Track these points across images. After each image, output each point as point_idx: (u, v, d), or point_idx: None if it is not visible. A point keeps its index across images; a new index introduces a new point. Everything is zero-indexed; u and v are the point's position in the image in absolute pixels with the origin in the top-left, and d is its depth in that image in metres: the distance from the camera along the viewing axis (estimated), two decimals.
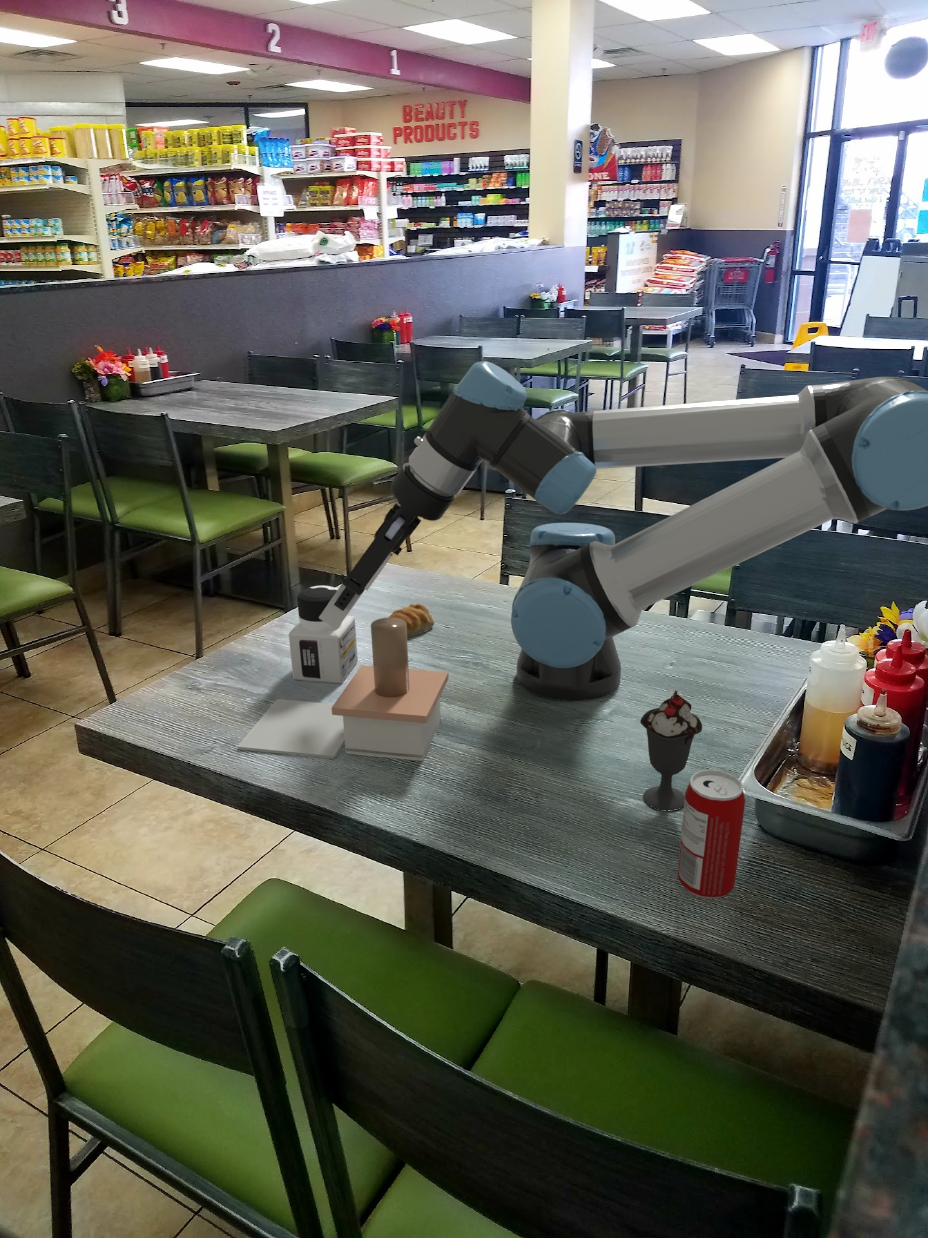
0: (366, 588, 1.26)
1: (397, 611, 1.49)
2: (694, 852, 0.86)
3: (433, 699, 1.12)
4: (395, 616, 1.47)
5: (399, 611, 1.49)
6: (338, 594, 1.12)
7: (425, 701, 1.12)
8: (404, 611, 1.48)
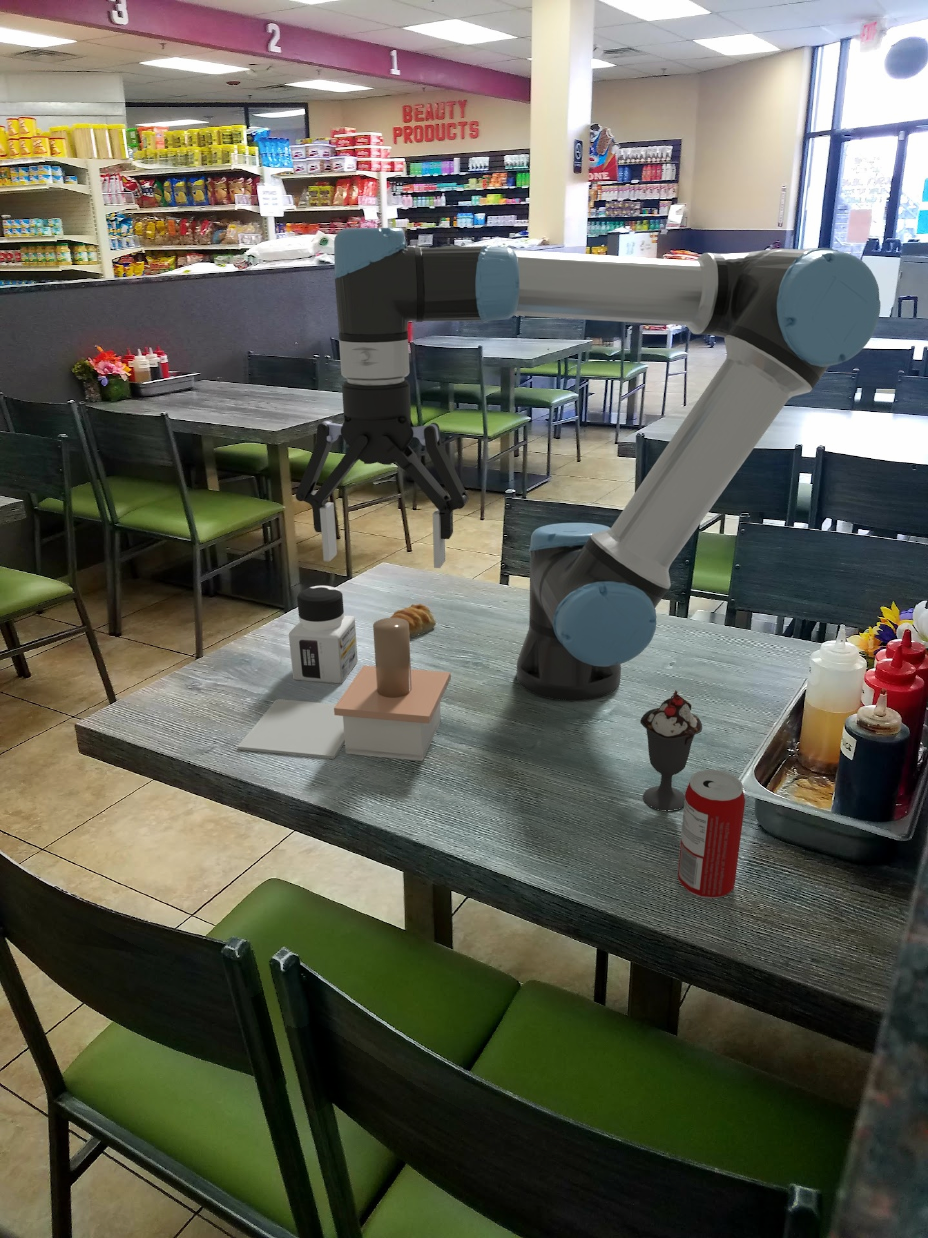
0: (336, 552, 1.10)
1: (399, 611, 1.49)
2: (694, 852, 0.86)
3: (435, 699, 1.12)
4: (397, 616, 1.47)
5: (401, 611, 1.49)
6: (440, 530, 1.04)
7: (427, 701, 1.12)
8: (405, 611, 1.48)
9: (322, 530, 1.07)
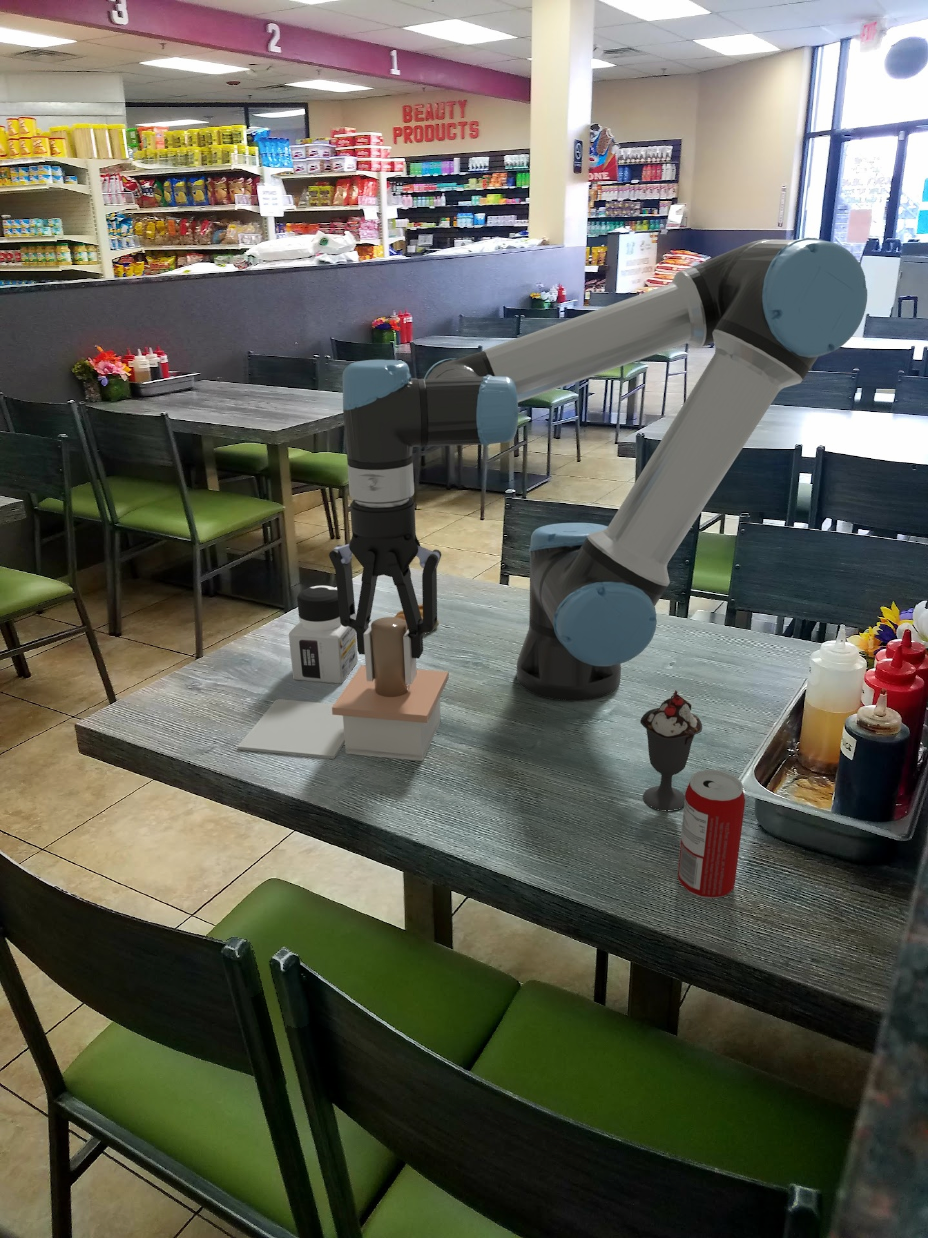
0: None
1: (401, 612, 1.49)
2: (694, 852, 0.86)
3: (433, 699, 1.12)
4: (400, 617, 1.47)
5: (403, 612, 1.48)
6: (410, 651, 1.11)
7: (425, 701, 1.12)
8: None
9: (365, 653, 1.12)
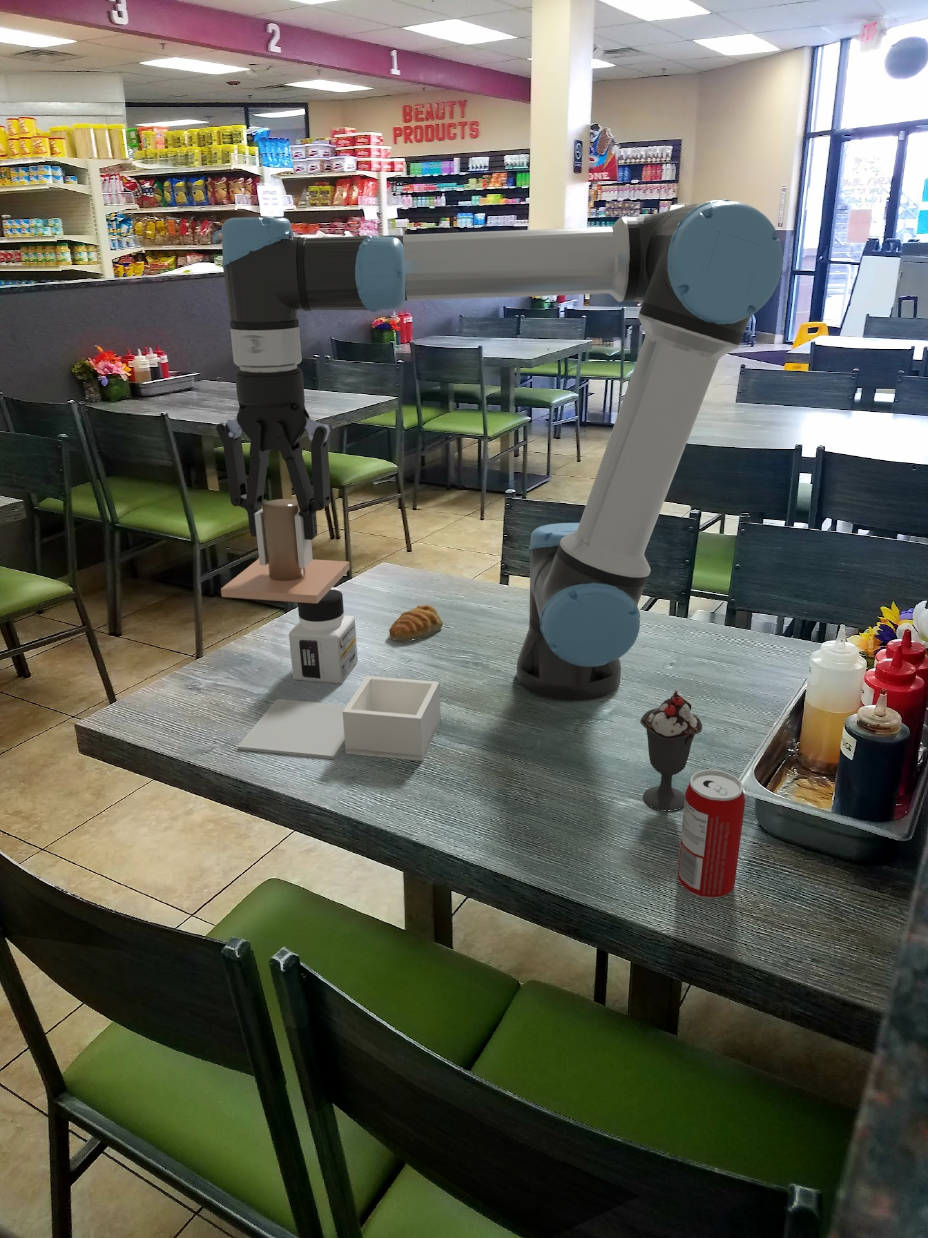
0: None
1: (406, 613, 1.48)
2: (694, 852, 0.86)
3: (327, 582, 1.09)
4: (405, 618, 1.47)
5: (408, 613, 1.48)
6: (303, 531, 1.08)
7: (318, 584, 1.08)
8: (413, 613, 1.48)
9: (257, 535, 1.09)
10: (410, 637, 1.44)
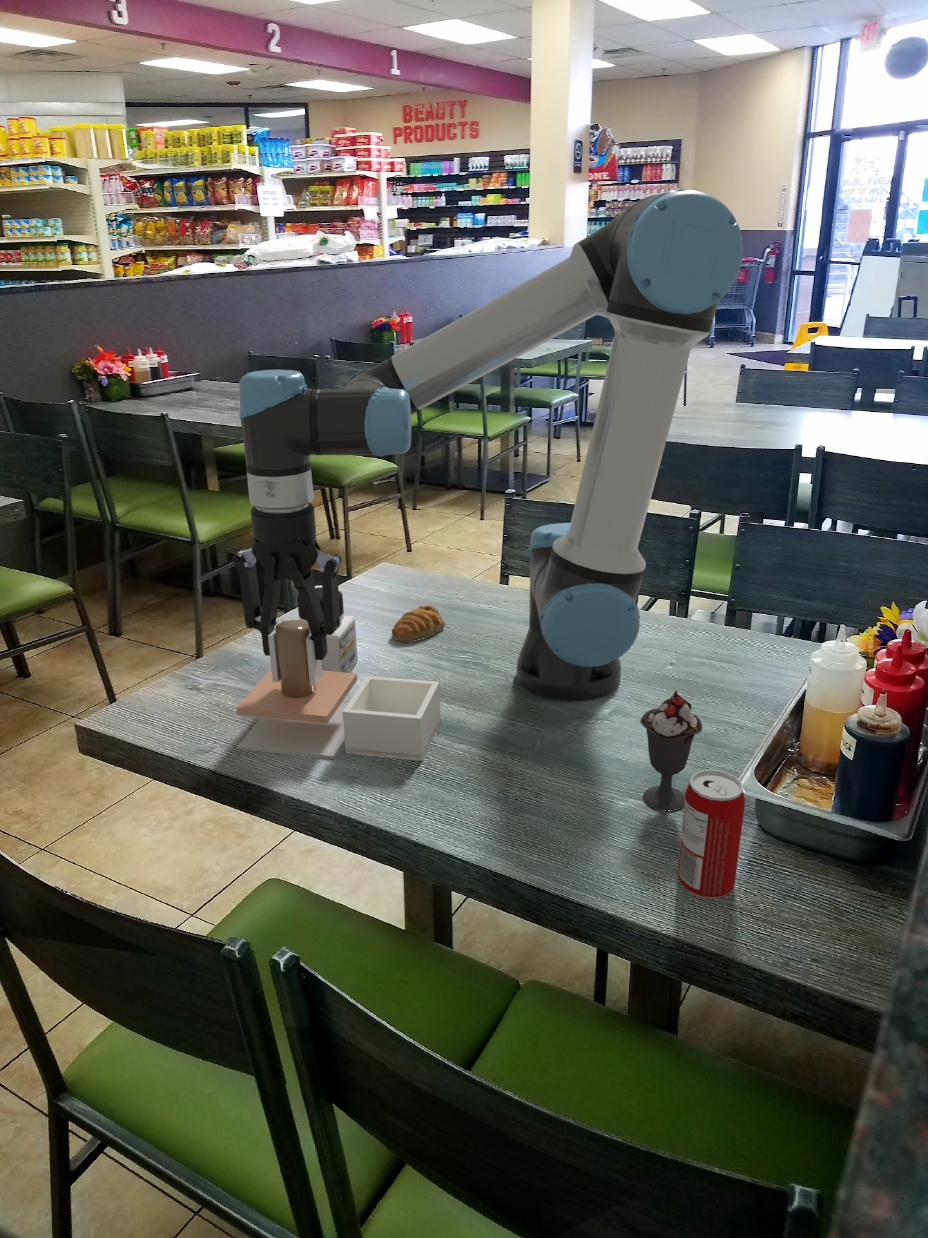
0: None
1: (408, 613, 1.48)
2: (694, 852, 0.86)
3: (336, 700, 1.15)
4: (407, 618, 1.46)
5: (410, 613, 1.48)
6: (314, 653, 1.14)
7: (328, 702, 1.15)
8: (415, 613, 1.47)
9: (270, 655, 1.15)
10: (413, 637, 1.44)
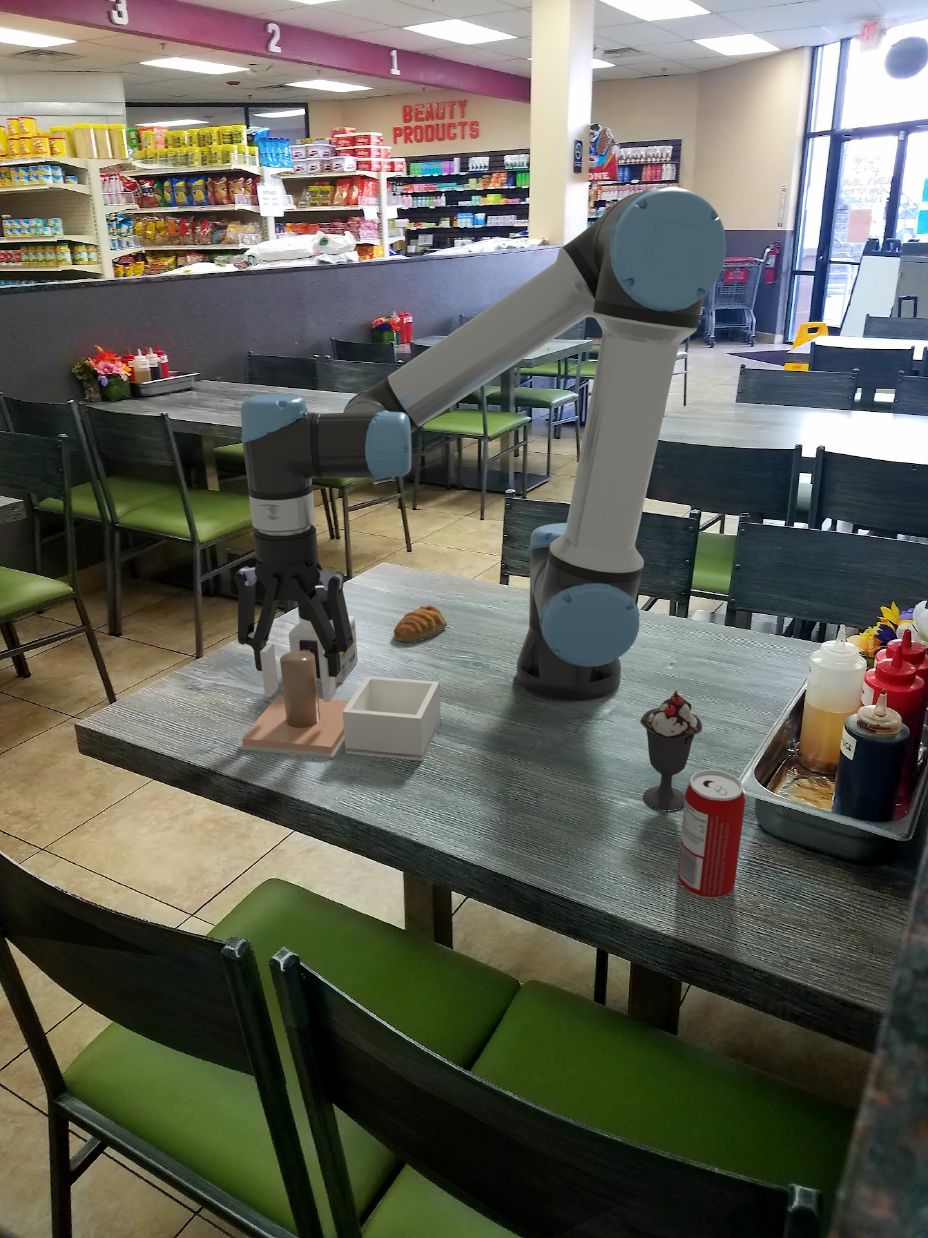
0: (277, 687, 1.20)
1: (409, 614, 1.48)
2: (694, 852, 0.86)
3: (341, 729, 1.17)
4: (409, 619, 1.46)
5: (412, 613, 1.48)
6: (327, 670, 1.15)
7: (333, 732, 1.16)
8: (417, 613, 1.47)
9: (263, 670, 1.16)
10: (415, 637, 1.44)
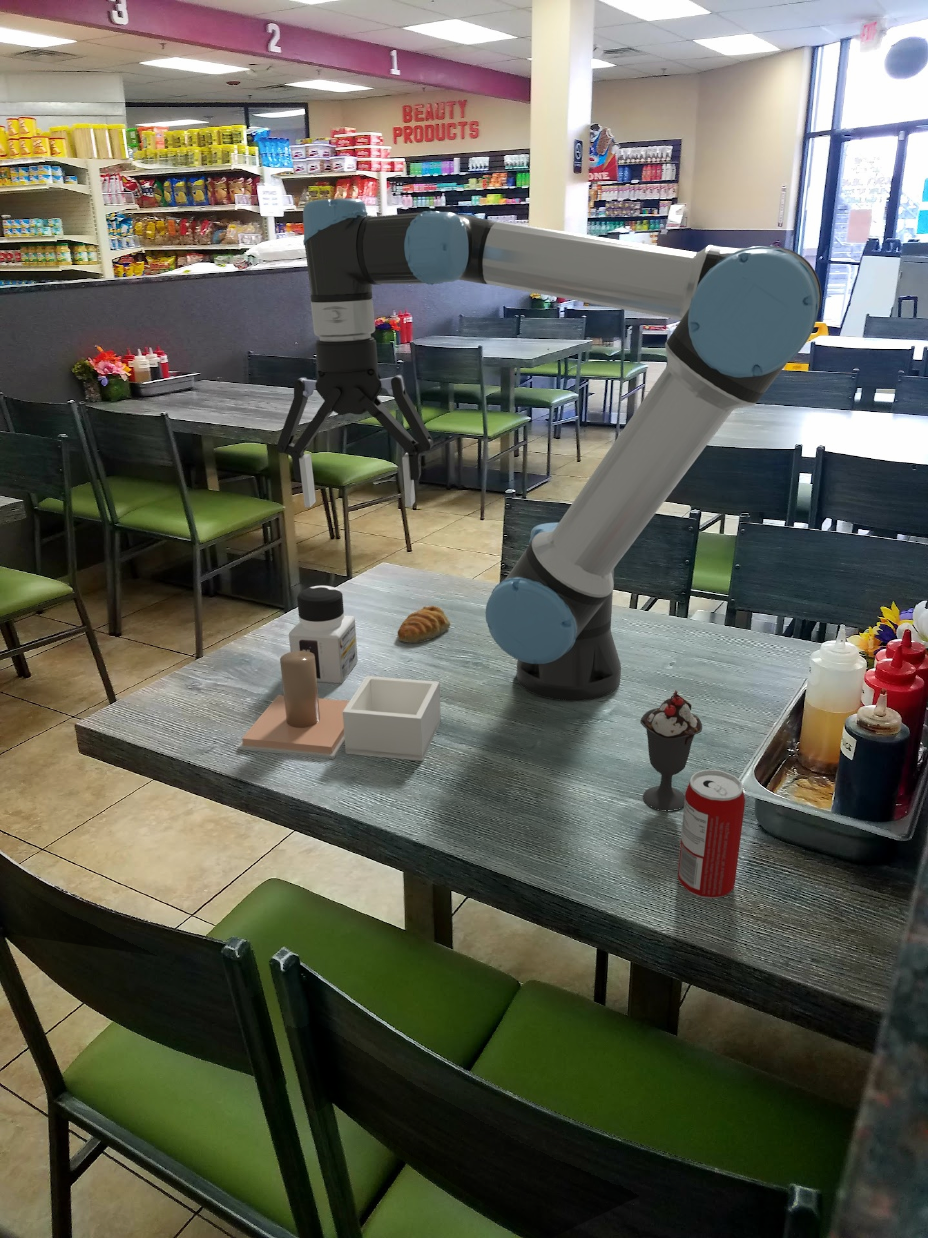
0: (315, 500, 1.21)
1: (413, 614, 1.48)
2: (694, 852, 0.86)
3: (341, 729, 1.17)
4: (413, 619, 1.46)
5: (415, 614, 1.47)
6: (409, 472, 1.16)
7: (333, 732, 1.16)
8: (420, 614, 1.47)
9: (302, 478, 1.18)
10: (419, 638, 1.44)
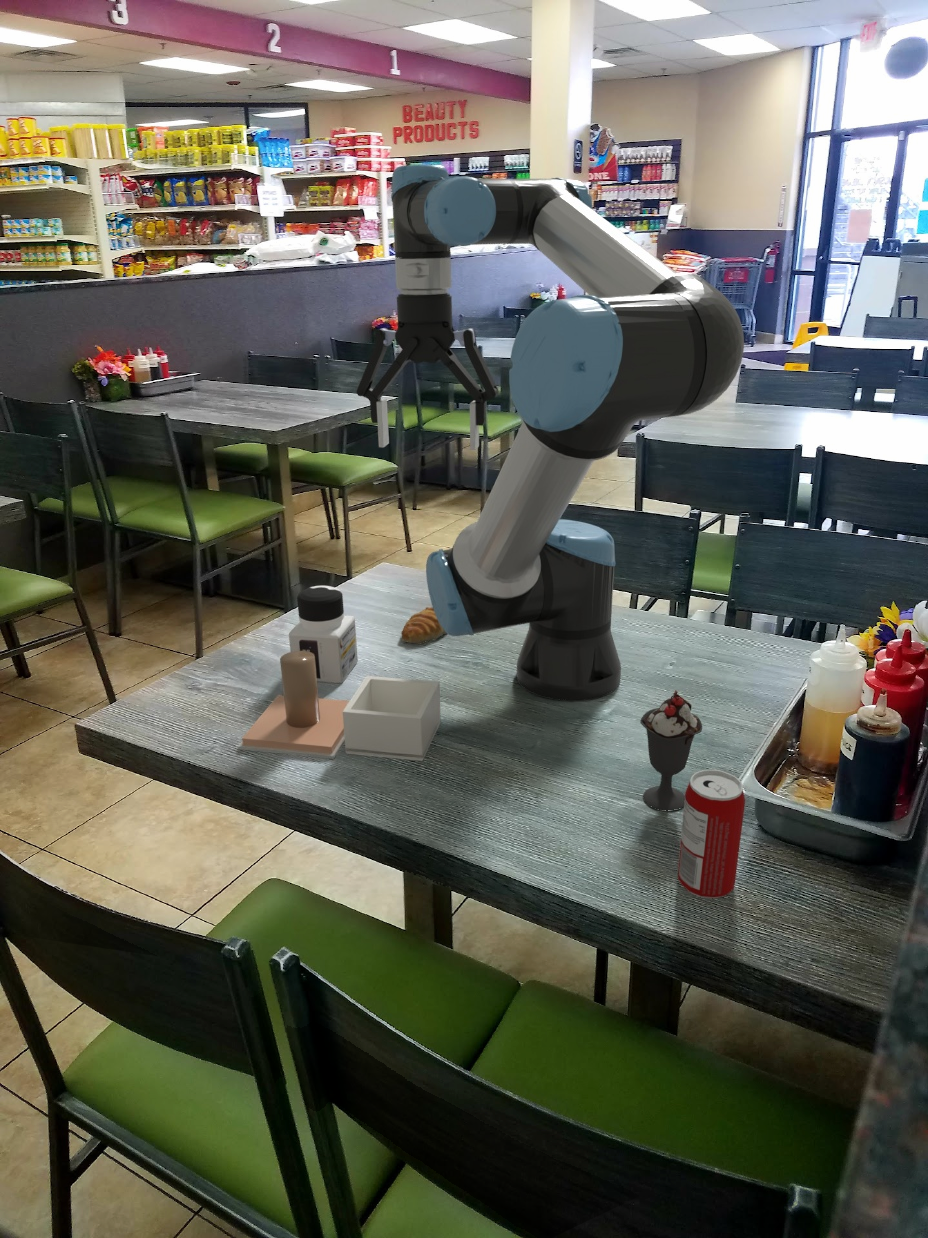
0: (388, 442, 1.34)
1: (416, 615, 1.48)
2: (694, 852, 0.86)
3: (341, 729, 1.17)
4: (416, 620, 1.46)
5: (418, 615, 1.47)
6: (475, 418, 1.28)
7: (333, 732, 1.16)
8: (424, 614, 1.47)
9: (378, 420, 1.30)
10: (424, 639, 1.44)
